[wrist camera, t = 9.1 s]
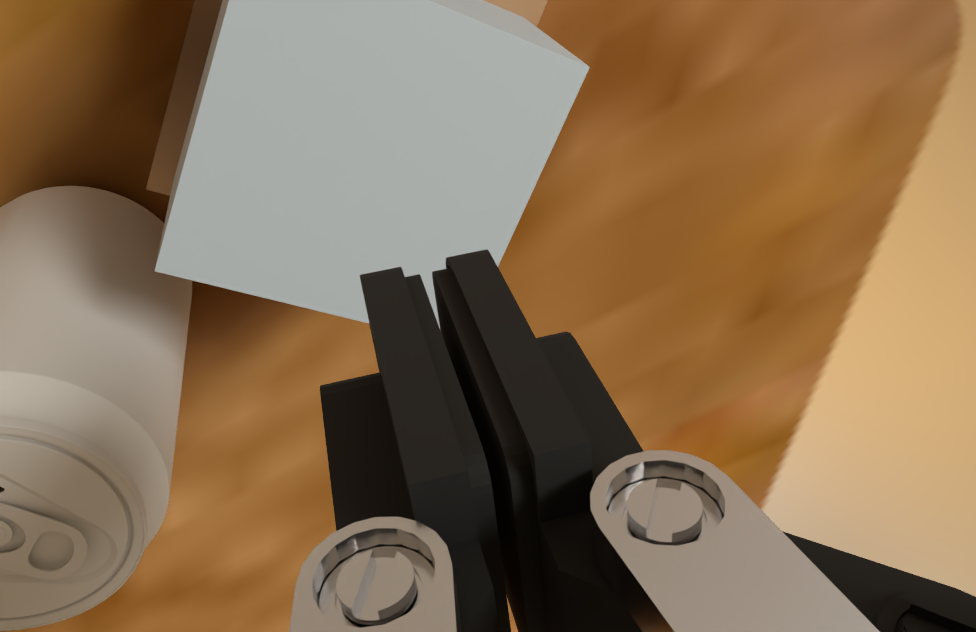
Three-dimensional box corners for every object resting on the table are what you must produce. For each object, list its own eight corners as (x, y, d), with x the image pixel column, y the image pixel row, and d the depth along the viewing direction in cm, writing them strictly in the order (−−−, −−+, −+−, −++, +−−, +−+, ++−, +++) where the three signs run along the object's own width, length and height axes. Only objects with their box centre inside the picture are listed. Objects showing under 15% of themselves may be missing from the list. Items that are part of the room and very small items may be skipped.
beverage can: (21, 138, 25) (-136, 363, 15) (229, 233, 27) (216, 474, 17) (-55, 308, 26) (-241, 609, 16) (146, 379, 29) (92, 672, 19)
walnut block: (407, 202, 29) (433, 269, 24) (162, 127, 26) (146, 189, 21) (499, -31, 26) (547, 0, 21) (234, -148, 22) (230, -139, 18)
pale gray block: (424, 253, 24) (461, 345, 20) (172, 182, 21) (154, 271, 17) (523, 17, 21) (589, 66, 17) (249, -100, 19) (249, -74, 15)
